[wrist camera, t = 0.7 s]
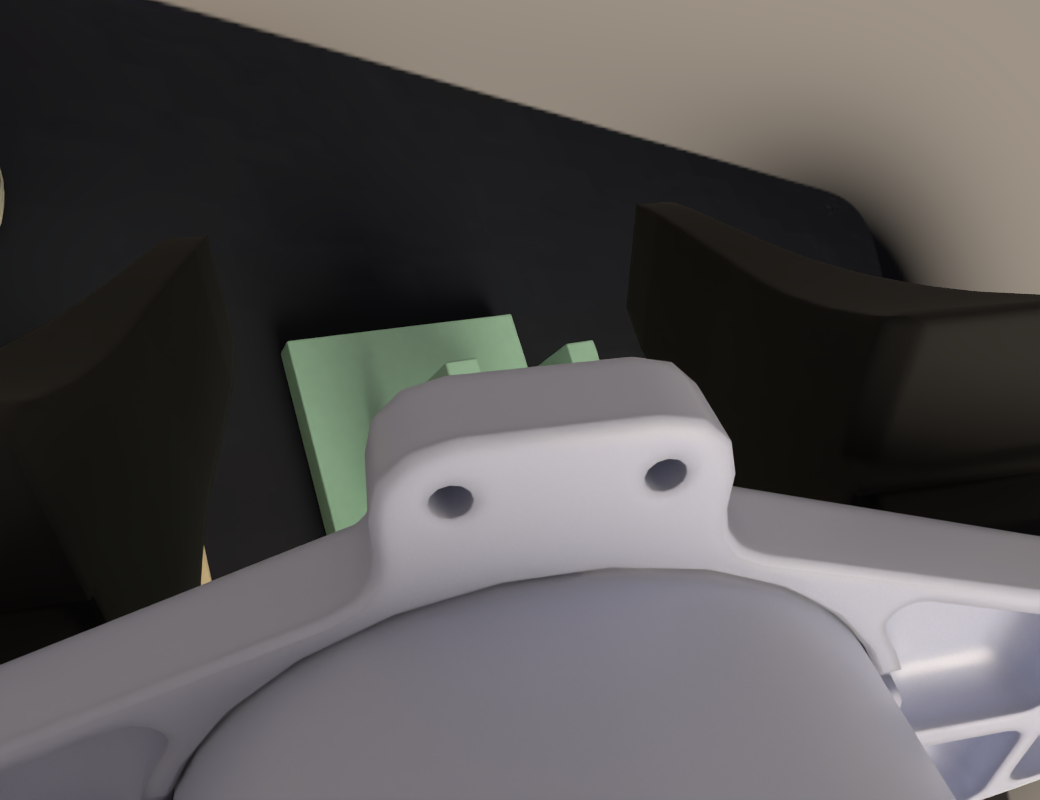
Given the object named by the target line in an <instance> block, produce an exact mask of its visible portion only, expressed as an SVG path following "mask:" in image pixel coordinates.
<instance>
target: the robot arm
mask: <svg viewBox="0 0 1040 800" xmlns="http://www.w3.org/2000/svg"><path fill="white" fill-rule="evenodd" d="M627 309H628V312H629V315H630V318H631V321H632V324H633V327H634V330H635V333H636V335H637V338H638V341H639V343H640V346H641V349H642V350H643V352H644V354H645V356H646V358H647V359H644V358H637V357H626V358H616V359H606V360H596V361H586V362H577V363H567V364H557V365H547V366H537V367H528V368H518V369H508V370H498V371H489V372H479V373H469V374H459V375H449V376H443V377H440V378H437V379H434V380H431V381H428V382H425V383H422V384H418V385H415V386H412V387H409V388H406V389H403V390H401V391H400V392H399V393H398V394H397V395H396V396H395V397H394V398H393V399H392V400H391V401H389V402H388V403H387V404H386V405H385V406H384V407H383V408H382V409H381V410H380V411H379V412H378V413H377V414H376V415H375V416H374V417H373V418H372V420H371V425H370V430H369V434H368V439H367V444H366V449H365V471H366V492H367V512H366V514H365V515H364V516H363V517H362V518H361V519H360V520H359V521H358V522H357V523H356V524H354V525H352V526H349V527H347V528H344V529H342V530H339V531H336V532H334V533H331V534H329V535H326V536H324V537H321V538H319V539H316V540H314V541H311V542H309V543H306V544H304V545H301V546H299V547H296V548H294V549H291V550H289V551H286V552H284V553H281V554H279V555H276V556H273V557H271V558H268V559H266V560H263V561H261V562H258V563H256V564H253V565H251V566H248V567H246V568H243V569H241V570H238V571H236V572H233V573H231V574H228V575H226V576H223V577H221V578H218V579H216V580H213V581H211V582H208V583H205V584H203V585H201V576H202V560H203V548H204V537H205V525H206V514H207V507H208V501H209V494H210V489H211V484H212V480H213V475H214V471H215V466H216V462H217V457H218V453H219V448H220V444H221V439H222V435H223V431H224V426H225V421H226V417H227V412H228V407H229V403H230V398H231V393H232V384H233V369H234V339H233V335H232V331H231V327H230V323H229V319H228V315H227V311H226V307H225V303H224V299H223V295H222V291H221V287H220V283H219V279H218V275H217V271H216V267H215V263H214V259H213V255H212V251H211V247H210V243H209V239H208V236H199V237H186V238H172V239H167V240H165V241H163V242H161V243H160V244H158V245H157V246H155V247H154V248H152V249H151V250H150V251H148V252H147V253H146V254H144V255H143V256H142V257H140V258H139V259H138V260H137V261H135V262H134V263H133V264H131V265H130V266H129V267H127V268H126V269H125V270H123V271H122V272H121V273H119V274H118V275H117V276H116V277H114V278H113V279H112V280H110V281H109V282H108V283H106V284H105V285H104V286H102V287H101V288H99V289H98V290H97V291H95V292H94V293H92V294H91V295H89V296H88V297H86V298H85V299H83V300H82V301H80V302H79V303H77V304H76V305H74V306H73V307H71V308H70V309H69V310H67V311H66V312H64V313H63V314H61V315H60V316H58V317H56V318H55V319H53V320H51V321H50V322H48V323H46V324H44V325H43V326H41V327H39V328H38V329H36V330H34V331H32V332H30V333H28V334H26V335H24V336H22V337H21V338H19V339H17V340H15V341H13V342H11V343H9V344H7V345H5V346H3V347H1V348H0V800H982V799H985V798H988V797H991V796H994V795H997V794H1000V793H1003V792H1005V791H1008V790H1011V789H1014V788H1017V787H1020V786H1022V785H1025V784H1028V783H1031V782H1034V781H1037V780H1040V295H1035V294H1015V293H994V292H977V291H967V290H958V289H950V288H941V287H932V286H926V285H920V284H913V283H907V282H901V281H897V280H891V279H887V278H882V277H877V276H872V275H867V274H863V273H859V272H855V271H851V270H847V269H844V268H840V267H837V266H834V265H830V264H827V263H823V262H820V261H817V260H814V259H811V258H808V257H805V256H802V255H799V254H796V253H794V252H791V251H789V250H786V249H783V248H781V247H778V246H775V245H773V244H770V243H768V242H766V241H763V240H761V239H759V238H756V237H754V236H752V235H749V234H747V233H745V232H743V231H740V230H738V229H736V228H734V227H731V226H729V225H727V224H725V223H723V222H720V221H718V220H716V219H714V218H712V217H709V216H707V215H705V214H703V213H700V212H698V211H696V210H693V209H691V208H688V207H686V206H683V205H680V204H676V203H672V202H663V203H650V204H637V206H636V216H635V226H634V236H633V246H632V256H631V266H630V277H629V287H628V297H627Z"/></svg>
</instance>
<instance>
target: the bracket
mask: <svg viewBox="0 0 1040 800" xmlns="http://www.w3.org/2000/svg"><path fill="white" fill-rule="evenodd" d="M281 357H282V361H283V365H284V369H285V373H286V377H287V381H288V385H289V389H290V393H291V397H292V401H293V405H294V409H295V413H296V417H297V420H298V424H299V428H300V432H301V436H302V440H303V444H304V448H305V452H306V456H307V460H308V464H309V468H310V472H311V476H312V480H313V484H314V488H315V492H316V496H317V500H318V504H319V507H320V511H321V515H322V519H323V523H324V527H325V531H326V535H329V534H331V533H334V532H336V531H339V530H342V529H344V528H347V527H349V526H352V525H354V524H356V523H357V522H358V521H359V520H360V519H361V518H362V517H363V516H364V515H365V514H366V512H367V492H366V471H365V449H366V444H367V439H368V434H369V430H370V425H371V420H372V418H373V417H374V416H375V415H376V414H377V413H378V412H379V411H380V410H381V409H382V408H383V407H384V406H385V405H386V404H387V403H388V402H389V401H391V400H392V399H393V398H394V397H395V396H396V395H397V394H398V393H399V392H400V391H401V390H403V389H406V388H409V387H412V386H415V385H418V384H422V383H425V382H428V381H431V380H434V379H437V378H440V377H443V376H449V375H459V374H469V373H479V372H489V371H498V370H508V369H518V368H528V367H527V364H526V360H525V357H524V354H523V351H522V348H521V345H520V342H519V338H518V335H517V332H516V329H515V326H514V323H513V320H512V316H511V314H507V315H499V316H491V317H483V318H474V319H466V320H458V321H450V322H441V323H433V324H425V325H417V326H408V327H400V328H392V329H384V330H375V331H367V332H359V333H351V334H342V335H334V336H326V337H318V338H309V339H301V340H293V341H288V342H287V343H286V345H285V347H284V348H283V350H282V352H281ZM596 360H599V357H598V354H597V351H596V348H595V346H594V343H593V341H592V340H590V341H583V342H576V343H570V344H566V345H565V346H563V347H562V348H561V349H560V350H558V351H557V352H556V353H554V354H553V355H552V356H550V357H549V358H548V359H546V360H545V361H544V362H542V363H541V364H540V365H539V366H547V365H557V364H567V363H577V362H586V361H596Z"/></svg>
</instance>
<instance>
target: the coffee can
mask: <svg viewBox="0 0 1040 800" xmlns="http://www.w3.org/2000/svg"><path fill="white" fill-rule="evenodd" d="M3 210H4V180H3V177H2V173H1V169H0V225H1V222H2V217H3Z"/></svg>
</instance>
